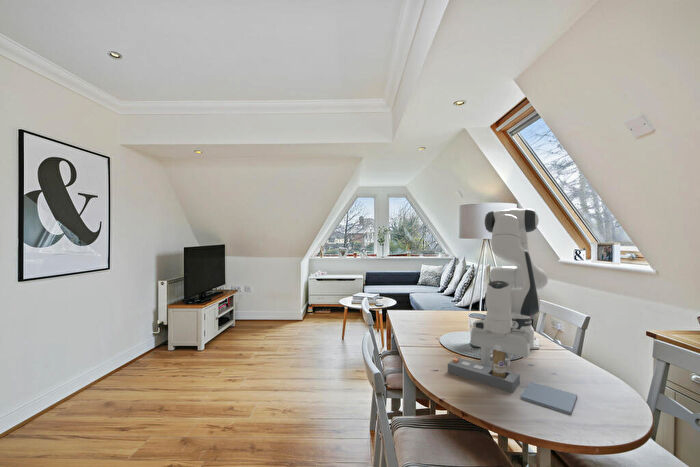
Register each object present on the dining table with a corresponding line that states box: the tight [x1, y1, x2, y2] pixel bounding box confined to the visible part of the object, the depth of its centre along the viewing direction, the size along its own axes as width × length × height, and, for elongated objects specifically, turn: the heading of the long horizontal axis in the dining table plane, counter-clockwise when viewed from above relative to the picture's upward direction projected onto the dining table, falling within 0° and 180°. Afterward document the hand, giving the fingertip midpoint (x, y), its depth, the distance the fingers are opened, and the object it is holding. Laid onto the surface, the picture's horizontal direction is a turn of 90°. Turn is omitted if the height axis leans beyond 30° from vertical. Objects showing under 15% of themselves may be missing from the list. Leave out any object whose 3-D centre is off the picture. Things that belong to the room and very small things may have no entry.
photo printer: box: [480, 347, 493, 366], centre depth 134 cm, size 10×4×12 cm, turn 123°
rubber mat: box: [519, 381, 578, 416], centre depth 106 cm, size 14×14×1 cm
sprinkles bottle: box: [492, 345, 507, 378], centre depth 117 cm, size 5×5×13 cm
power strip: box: [447, 356, 521, 394], centre depth 121 cm, size 9×24×4 cm, turn 48°
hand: (498, 362), depth 117 cm, fingers closed on sprinkles bottle, 4 cm apart
